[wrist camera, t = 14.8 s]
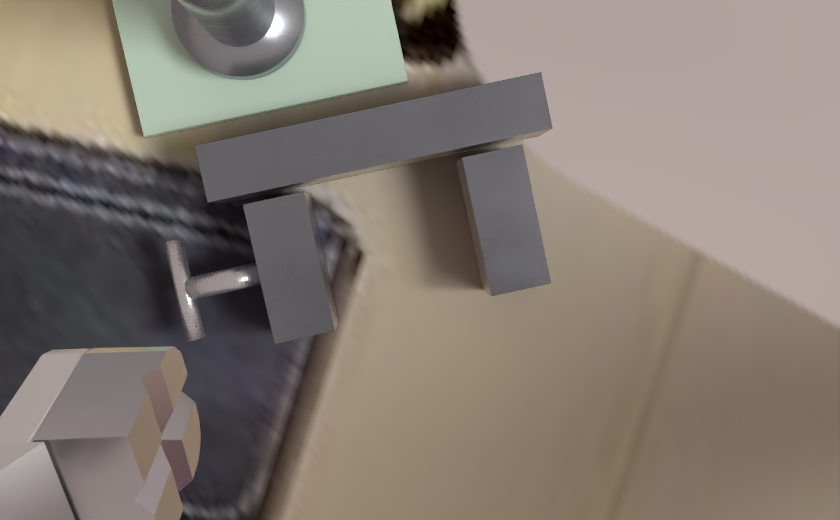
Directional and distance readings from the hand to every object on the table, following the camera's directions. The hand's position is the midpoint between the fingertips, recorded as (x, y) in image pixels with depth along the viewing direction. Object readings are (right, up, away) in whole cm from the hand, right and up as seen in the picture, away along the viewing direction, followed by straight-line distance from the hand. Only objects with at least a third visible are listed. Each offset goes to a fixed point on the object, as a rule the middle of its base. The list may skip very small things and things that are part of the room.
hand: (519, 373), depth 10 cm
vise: (-4, +3, +27) cm, 27 cm away
